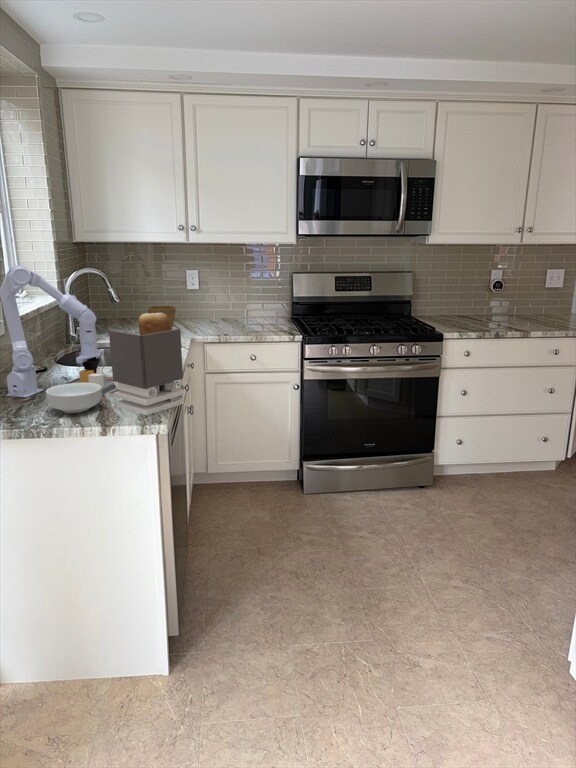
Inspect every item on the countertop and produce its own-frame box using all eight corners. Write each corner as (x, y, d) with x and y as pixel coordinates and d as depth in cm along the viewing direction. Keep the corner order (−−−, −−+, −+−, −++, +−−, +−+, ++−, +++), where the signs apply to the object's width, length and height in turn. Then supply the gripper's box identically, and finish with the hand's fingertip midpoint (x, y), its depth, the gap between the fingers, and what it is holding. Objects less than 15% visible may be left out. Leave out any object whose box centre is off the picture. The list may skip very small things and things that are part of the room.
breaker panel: (97, 397, 195) (95, 379, 193) (56, 394, 198) (54, 376, 197) (127, 381, 214) (126, 365, 213) (89, 379, 218) (87, 363, 216)
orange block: (90, 384, 204) (88, 372, 203) (80, 383, 205) (79, 371, 204) (94, 382, 207) (93, 370, 206) (84, 381, 208) (83, 369, 207)
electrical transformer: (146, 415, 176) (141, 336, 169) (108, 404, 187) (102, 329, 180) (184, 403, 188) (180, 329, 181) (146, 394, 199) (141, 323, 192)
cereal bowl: (110, 411, 179) (108, 390, 177) (55, 421, 170) (53, 398, 168) (94, 399, 193) (92, 379, 191) (42, 407, 183) (40, 386, 182)
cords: (112, 393, 199) (112, 390, 198) (56, 389, 204) (56, 386, 203) (138, 380, 217) (138, 377, 216) (86, 377, 222) (86, 374, 221)
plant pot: (151, 340, 297) (149, 309, 293) (147, 335, 310) (145, 306, 306) (179, 338, 302) (178, 308, 298) (174, 333, 315) (172, 304, 311)
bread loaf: (156, 369, 233) (152, 309, 227) (182, 373, 227) (179, 311, 221) (133, 377, 221) (128, 313, 215) (160, 381, 215) (156, 315, 209)
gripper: (87, 346, 198) (90, 383, 201) (109, 338, 211) (111, 374, 215) (69, 345, 199) (73, 382, 203) (92, 338, 213) (95, 373, 216)
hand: (92, 378), depth 209 cm, fingers closed
